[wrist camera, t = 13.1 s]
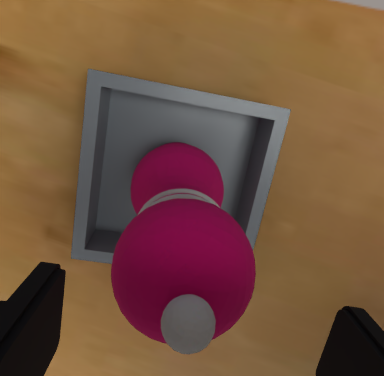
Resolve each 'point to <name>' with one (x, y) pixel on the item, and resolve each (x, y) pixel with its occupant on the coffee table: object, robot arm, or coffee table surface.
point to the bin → (159, 135)
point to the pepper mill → (181, 252)
